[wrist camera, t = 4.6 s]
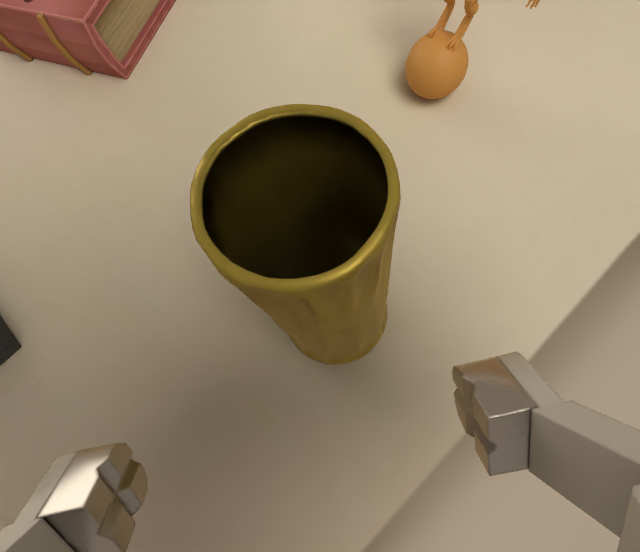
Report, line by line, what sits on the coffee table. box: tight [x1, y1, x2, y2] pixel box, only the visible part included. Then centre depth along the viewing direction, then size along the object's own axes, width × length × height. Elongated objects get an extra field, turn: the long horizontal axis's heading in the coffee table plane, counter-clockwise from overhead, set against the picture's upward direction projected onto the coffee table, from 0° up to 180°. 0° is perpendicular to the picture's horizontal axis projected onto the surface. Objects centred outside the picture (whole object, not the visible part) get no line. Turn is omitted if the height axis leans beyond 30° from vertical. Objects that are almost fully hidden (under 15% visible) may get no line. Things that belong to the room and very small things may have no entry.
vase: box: [190, 104, 401, 364], centre depth 16 cm, size 6×6×14 cm
